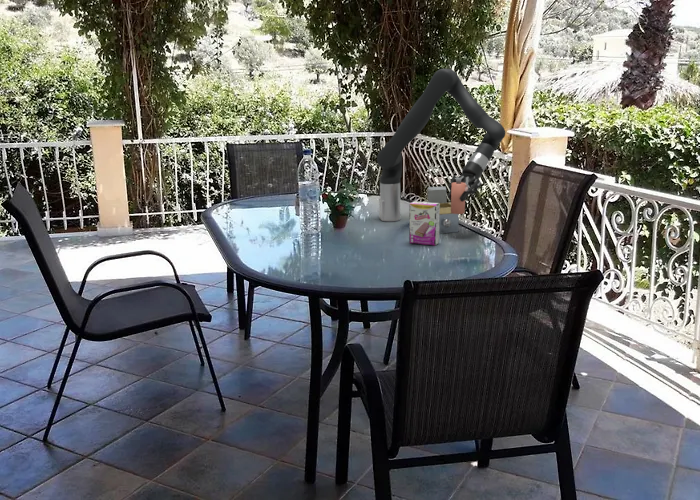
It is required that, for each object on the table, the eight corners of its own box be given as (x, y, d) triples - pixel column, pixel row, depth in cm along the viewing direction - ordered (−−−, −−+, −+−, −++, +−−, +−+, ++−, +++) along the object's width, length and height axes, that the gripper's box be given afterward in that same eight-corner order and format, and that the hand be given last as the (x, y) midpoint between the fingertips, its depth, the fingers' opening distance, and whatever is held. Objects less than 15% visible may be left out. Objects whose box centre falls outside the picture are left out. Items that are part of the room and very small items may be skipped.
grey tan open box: (434, 235, 271) (435, 210, 268) (423, 226, 287) (423, 202, 284) (460, 233, 273) (460, 208, 270) (447, 224, 288) (448, 201, 286)
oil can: (453, 214, 261) (454, 179, 257) (448, 211, 267) (449, 177, 263) (466, 213, 262) (467, 179, 258) (461, 210, 268) (463, 176, 264)
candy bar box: (408, 243, 259) (408, 203, 254) (413, 240, 263) (413, 200, 259) (435, 246, 254) (436, 205, 250) (439, 243, 259) (440, 202, 254)
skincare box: (446, 220, 297) (446, 185, 292) (446, 223, 290) (447, 188, 285) (427, 220, 297) (427, 186, 293) (427, 223, 291) (428, 188, 286)
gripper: (458, 158, 269) (437, 191, 265) (485, 162, 258) (465, 196, 254) (465, 170, 273) (445, 202, 269) (493, 174, 263) (473, 207, 259)
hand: (455, 199), depth 262 cm, fingers closed on oil can, 5 cm apart
